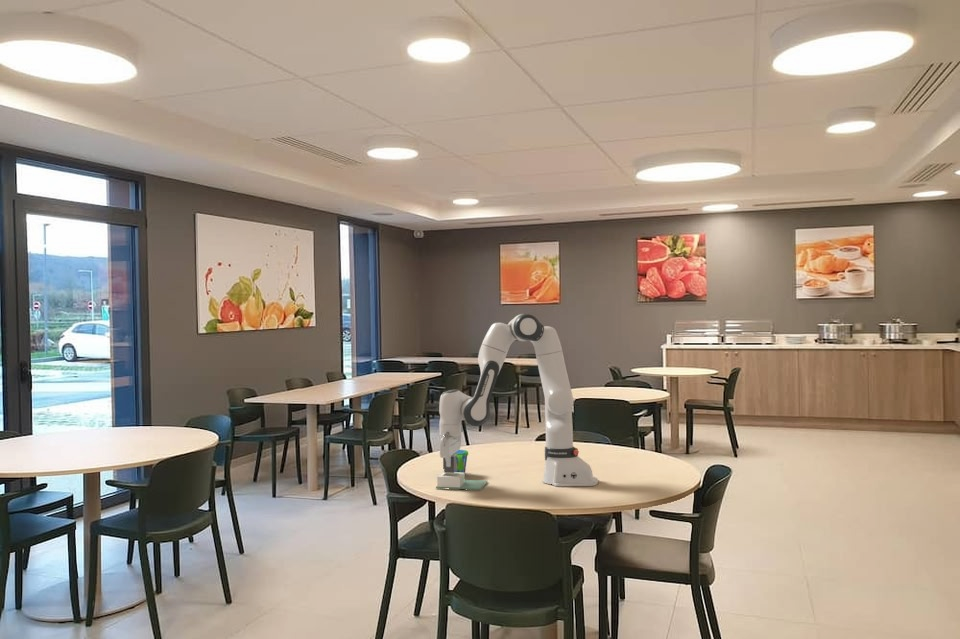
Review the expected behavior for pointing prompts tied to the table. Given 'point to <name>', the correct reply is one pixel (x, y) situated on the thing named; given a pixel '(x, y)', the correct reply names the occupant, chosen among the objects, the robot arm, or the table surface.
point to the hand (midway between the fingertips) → (450, 465)
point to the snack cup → (461, 460)
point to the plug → (453, 465)
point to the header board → (470, 485)
